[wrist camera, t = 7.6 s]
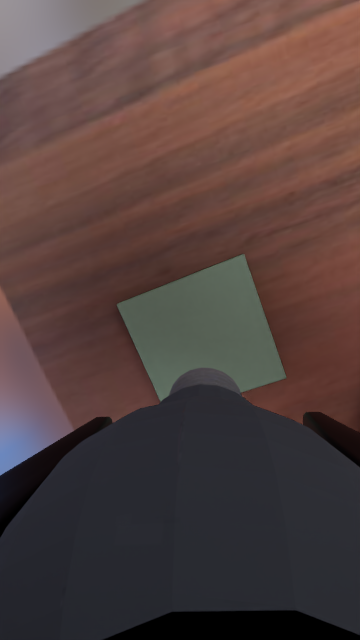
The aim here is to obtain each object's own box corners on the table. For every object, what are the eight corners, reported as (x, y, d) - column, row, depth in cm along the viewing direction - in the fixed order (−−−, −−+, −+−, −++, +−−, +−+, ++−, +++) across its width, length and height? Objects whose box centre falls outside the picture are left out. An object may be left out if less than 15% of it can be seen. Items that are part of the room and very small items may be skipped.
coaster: (284, 375, 16) (286, 378, 16) (167, 412, 17) (166, 416, 17) (243, 253, 15) (244, 253, 14) (118, 303, 16) (115, 304, 15)
